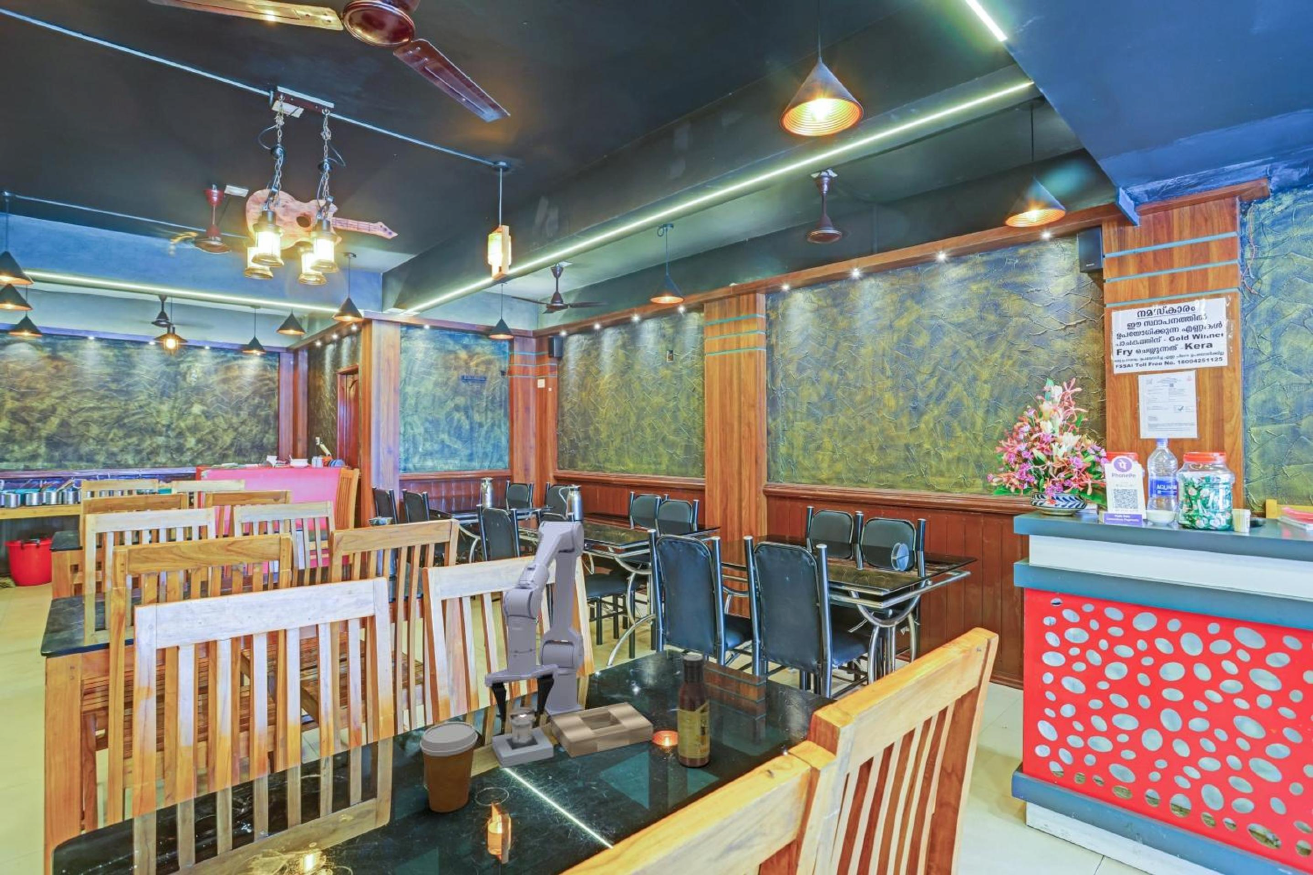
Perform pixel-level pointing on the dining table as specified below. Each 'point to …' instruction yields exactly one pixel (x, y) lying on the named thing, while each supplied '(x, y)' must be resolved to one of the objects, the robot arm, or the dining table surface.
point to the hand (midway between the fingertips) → (521, 716)
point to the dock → (600, 729)
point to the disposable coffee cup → (448, 764)
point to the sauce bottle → (693, 715)
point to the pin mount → (522, 749)
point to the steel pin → (521, 726)
